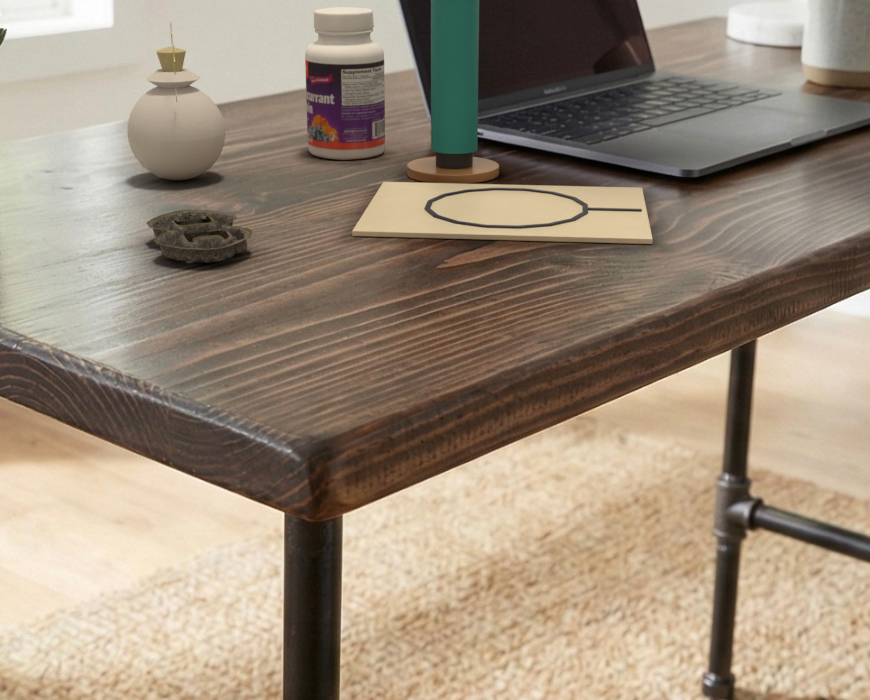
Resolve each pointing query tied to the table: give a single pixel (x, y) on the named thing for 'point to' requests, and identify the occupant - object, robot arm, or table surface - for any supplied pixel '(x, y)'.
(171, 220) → the corroded twin loop
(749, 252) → the table surface
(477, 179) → the coaster
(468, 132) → the cylinder
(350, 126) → the pill bottle
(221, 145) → the ornament
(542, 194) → the yellow board
